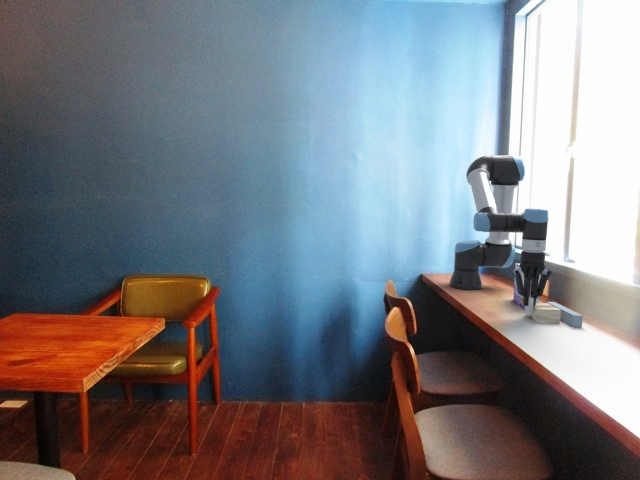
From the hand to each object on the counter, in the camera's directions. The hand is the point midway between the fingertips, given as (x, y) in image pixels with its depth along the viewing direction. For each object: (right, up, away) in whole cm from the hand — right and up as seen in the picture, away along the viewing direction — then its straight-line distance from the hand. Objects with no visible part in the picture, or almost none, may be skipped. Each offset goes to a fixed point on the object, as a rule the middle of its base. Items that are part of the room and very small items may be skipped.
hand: (528, 314), depth 132 cm
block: (+5, -2, 0) cm, 5 cm away
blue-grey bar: (+12, -2, 0) cm, 13 cm away
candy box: (+9, 0, +19) cm, 21 cm away
